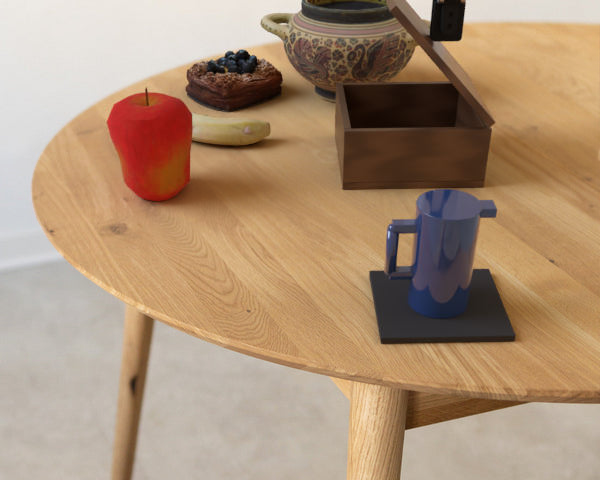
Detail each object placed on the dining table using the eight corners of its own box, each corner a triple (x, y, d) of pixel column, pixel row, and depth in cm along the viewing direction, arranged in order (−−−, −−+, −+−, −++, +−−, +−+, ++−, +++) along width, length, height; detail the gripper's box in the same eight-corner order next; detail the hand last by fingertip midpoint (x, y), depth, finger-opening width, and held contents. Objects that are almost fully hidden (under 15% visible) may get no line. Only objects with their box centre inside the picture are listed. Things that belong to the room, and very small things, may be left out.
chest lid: (389, 11, 75) (396, 5, 75) (374, -26, 87) (380, -31, 86) (489, 127, 82) (495, 122, 82) (462, 79, 94) (468, 74, 94)
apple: (211, 181, 88) (203, 78, 81) (174, 215, 81) (162, 107, 74) (145, 168, 90) (131, 68, 83) (104, 201, 84) (86, 94, 77)
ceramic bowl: (439, 101, 114) (451, -9, 109) (429, 117, 98) (442, -12, 92) (277, 88, 119) (281, -18, 114) (242, 101, 103) (245, -22, 97)
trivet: (488, 273, 72) (488, 268, 72) (514, 341, 64) (516, 335, 64) (369, 275, 72) (369, 270, 72) (380, 343, 64) (381, 337, 63)
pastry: (176, 95, 109) (172, 53, 106) (241, 74, 116) (239, 34, 113) (227, 116, 103) (224, 72, 99) (292, 93, 110) (292, 51, 106)
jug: (473, 283, 70) (488, 188, 64) (486, 318, 65) (503, 219, 60) (379, 285, 70) (385, 189, 64) (385, 320, 65) (392, 221, 60)
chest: (342, 189, 86) (344, 131, 82) (334, 135, 98) (335, 82, 94) (483, 187, 86) (492, 129, 82) (458, 133, 98) (465, 80, 94)
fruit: (237, 161, 92) (236, 134, 90) (144, 131, 99) (141, 106, 97) (273, 140, 97) (273, 115, 95) (182, 114, 104) (180, 89, 102)
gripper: (525, -150, 67) (495, 61, 78) (488, -166, 79) (466, 19, 90) (438, -149, 67) (420, 62, 78) (414, -166, 79) (401, 19, 90)
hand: (445, 38), depth 84 cm, fingers closed
